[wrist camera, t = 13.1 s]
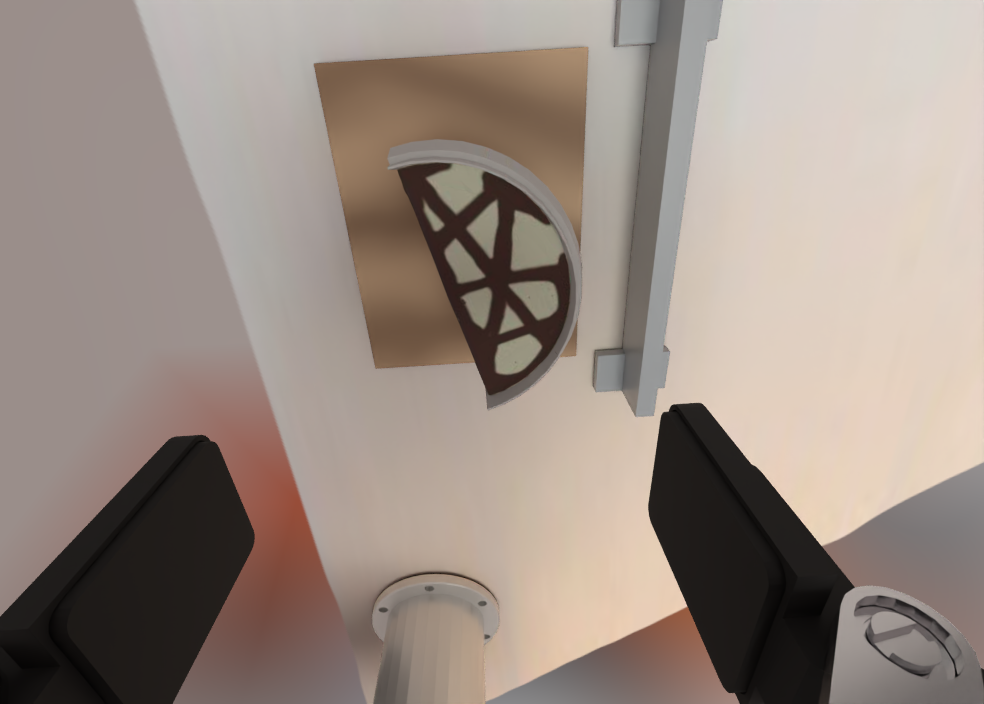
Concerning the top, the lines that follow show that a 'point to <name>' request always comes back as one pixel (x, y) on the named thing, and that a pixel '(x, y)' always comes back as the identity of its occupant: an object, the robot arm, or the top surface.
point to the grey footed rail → (658, 185)
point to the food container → (496, 257)
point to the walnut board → (446, 116)
